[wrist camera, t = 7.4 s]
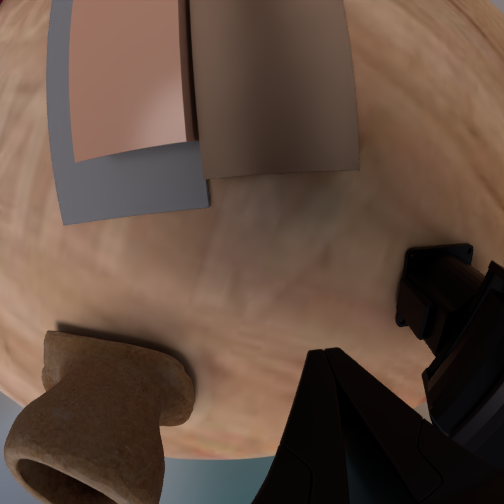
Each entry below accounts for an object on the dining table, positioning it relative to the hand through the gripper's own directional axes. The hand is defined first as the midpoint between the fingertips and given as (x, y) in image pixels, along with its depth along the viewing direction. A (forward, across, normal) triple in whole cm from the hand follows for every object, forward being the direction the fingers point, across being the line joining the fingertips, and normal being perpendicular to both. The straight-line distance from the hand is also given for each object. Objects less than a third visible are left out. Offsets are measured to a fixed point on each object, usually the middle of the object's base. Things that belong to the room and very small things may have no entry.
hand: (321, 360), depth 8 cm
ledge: (+12, 0, -11) cm, 16 cm away
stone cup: (+12, +15, +11) cm, 22 cm away
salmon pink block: (+9, +4, -11) cm, 15 cm away
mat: (+12, +10, -11) cm, 19 cm away
